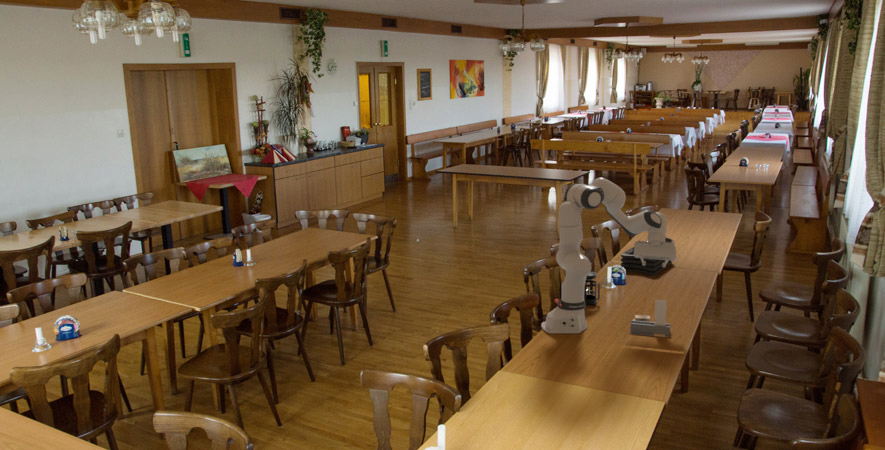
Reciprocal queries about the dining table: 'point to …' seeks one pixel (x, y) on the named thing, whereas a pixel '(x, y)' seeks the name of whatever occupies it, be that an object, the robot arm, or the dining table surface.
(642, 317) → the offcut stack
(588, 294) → the french press
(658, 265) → the container
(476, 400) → the dining table surface
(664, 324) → the plank
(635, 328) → the rack
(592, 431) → the dining table surface
